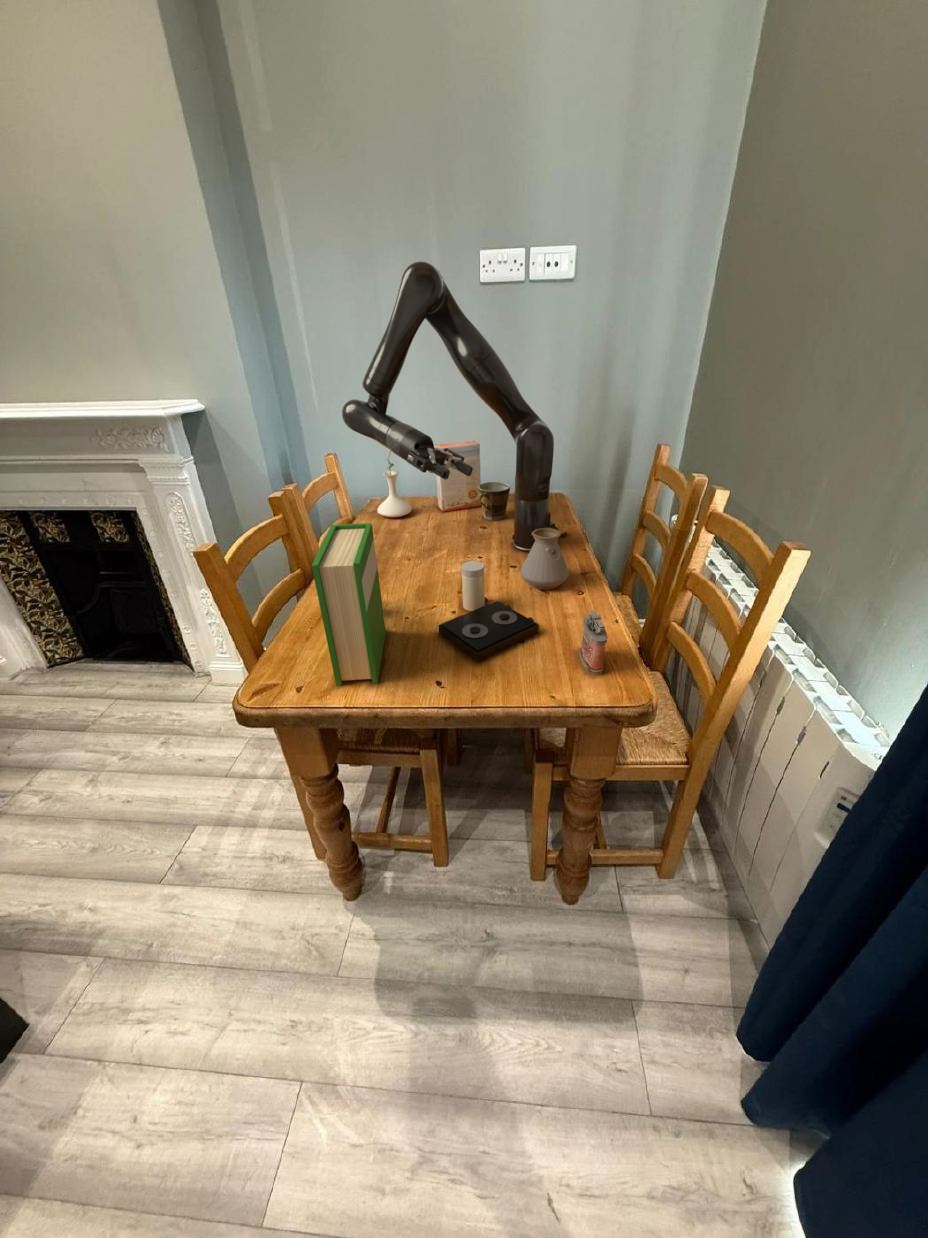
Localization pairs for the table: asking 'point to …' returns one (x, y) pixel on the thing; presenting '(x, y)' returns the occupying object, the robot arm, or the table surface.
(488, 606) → the stove
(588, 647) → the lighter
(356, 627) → the hardback book
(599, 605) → the table surface
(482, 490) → the ceramic cup
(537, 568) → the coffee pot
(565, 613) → the table surface
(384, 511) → the flower in vase
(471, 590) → the salt shaker
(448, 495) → the cracker box
